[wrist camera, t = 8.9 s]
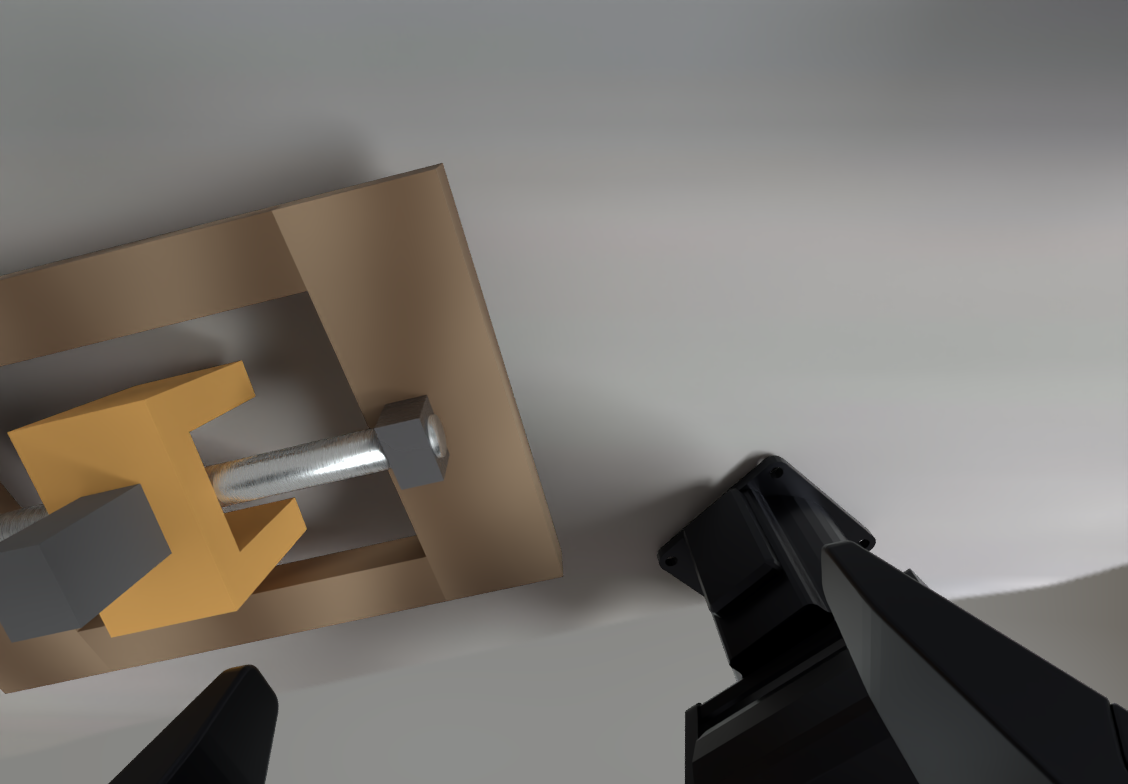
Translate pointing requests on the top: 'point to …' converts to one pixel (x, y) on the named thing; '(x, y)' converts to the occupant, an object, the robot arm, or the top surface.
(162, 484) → the yellow block
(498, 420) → the wooden frame with rod
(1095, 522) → the top surface
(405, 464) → the silver metal rod
